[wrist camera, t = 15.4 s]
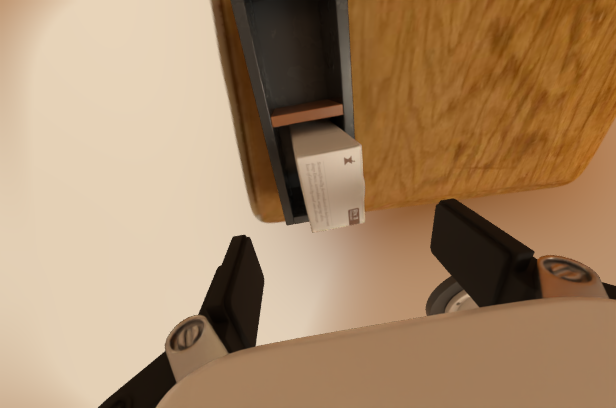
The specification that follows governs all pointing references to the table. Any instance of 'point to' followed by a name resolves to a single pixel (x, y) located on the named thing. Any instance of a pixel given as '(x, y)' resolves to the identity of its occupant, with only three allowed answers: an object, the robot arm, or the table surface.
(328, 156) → the cosmetic box
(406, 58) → the table surface
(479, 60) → the table surface
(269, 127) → the caddy
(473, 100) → the table surface
